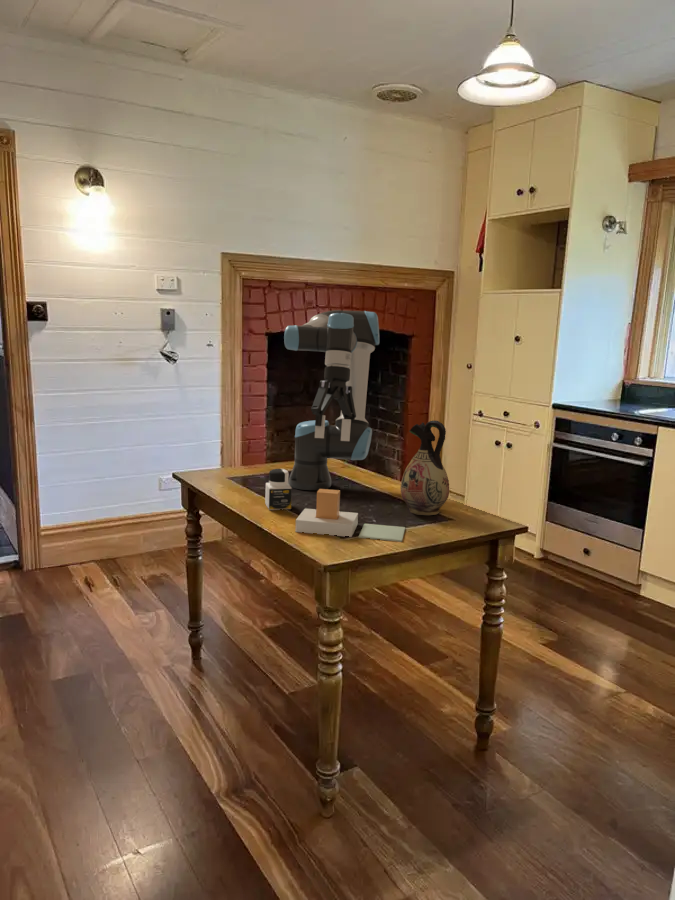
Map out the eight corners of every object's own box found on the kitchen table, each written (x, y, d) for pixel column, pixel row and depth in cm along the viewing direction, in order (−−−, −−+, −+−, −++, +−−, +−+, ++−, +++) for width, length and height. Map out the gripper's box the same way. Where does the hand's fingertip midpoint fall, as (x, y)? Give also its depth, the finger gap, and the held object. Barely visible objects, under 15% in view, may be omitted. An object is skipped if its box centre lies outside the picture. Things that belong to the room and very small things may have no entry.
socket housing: (304, 519, 204) (304, 508, 204) (357, 524, 202) (358, 513, 201) (295, 531, 193) (295, 519, 192) (351, 537, 190) (352, 525, 189)
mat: (364, 525, 201) (364, 523, 201) (405, 528, 200) (405, 527, 199) (358, 537, 190) (358, 536, 190) (401, 541, 188) (402, 540, 188)
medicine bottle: (268, 510, 212) (269, 472, 210) (265, 504, 219) (265, 467, 217) (291, 509, 214) (292, 472, 212) (286, 503, 221) (287, 467, 219)
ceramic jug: (389, 511, 217) (394, 417, 211) (416, 502, 228) (422, 413, 222) (434, 523, 206) (441, 425, 200) (461, 513, 218) (468, 420, 212)
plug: (318, 525, 200) (319, 488, 197) (338, 527, 199) (340, 490, 197) (315, 529, 196) (316, 492, 194) (336, 531, 195) (337, 493, 193)
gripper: (324, 360, 187) (318, 437, 187) (370, 373, 208) (365, 442, 208) (302, 360, 191) (296, 436, 191) (349, 373, 212) (344, 441, 212)
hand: (332, 439), depth 199 cm, fingers open, 13 cm apart
